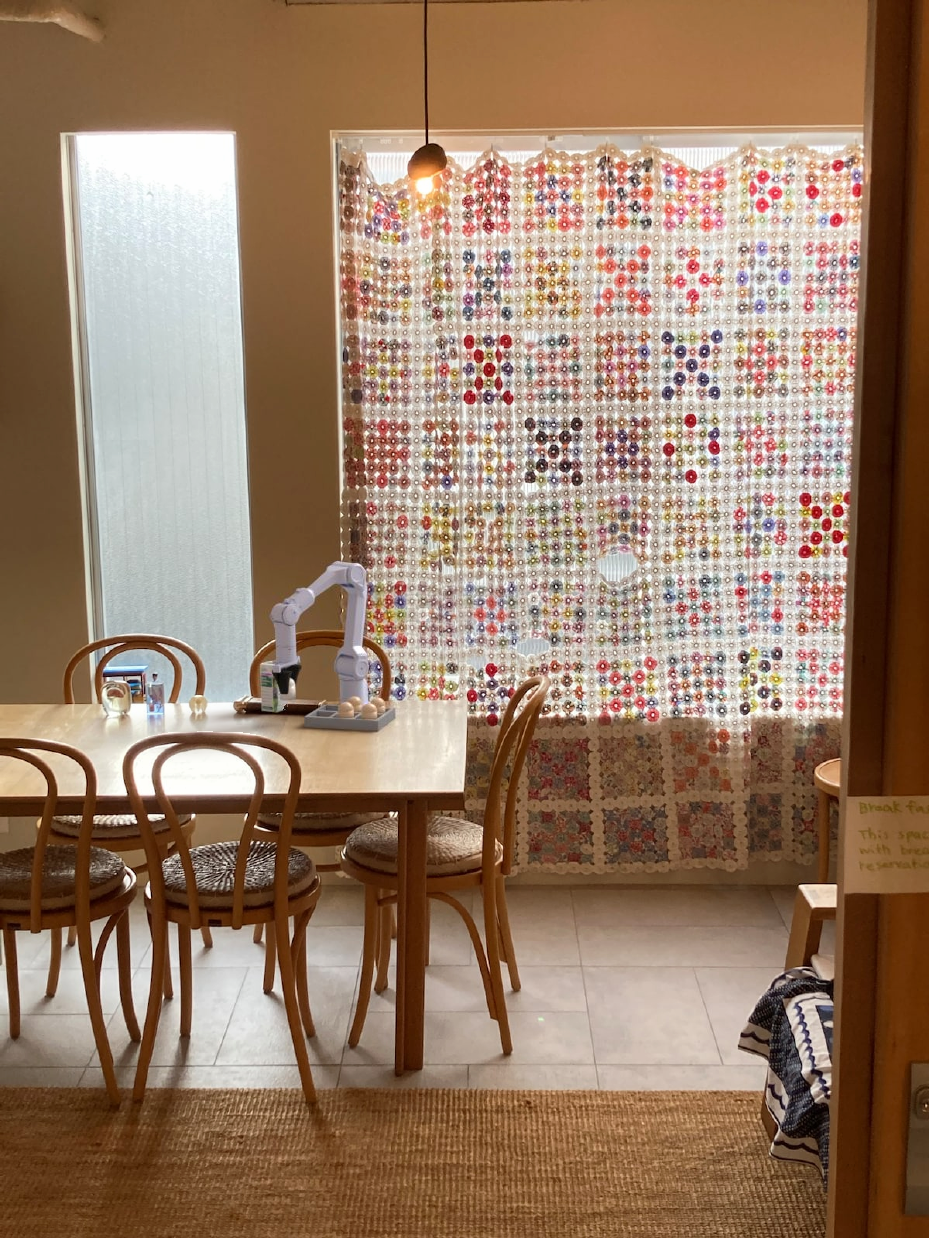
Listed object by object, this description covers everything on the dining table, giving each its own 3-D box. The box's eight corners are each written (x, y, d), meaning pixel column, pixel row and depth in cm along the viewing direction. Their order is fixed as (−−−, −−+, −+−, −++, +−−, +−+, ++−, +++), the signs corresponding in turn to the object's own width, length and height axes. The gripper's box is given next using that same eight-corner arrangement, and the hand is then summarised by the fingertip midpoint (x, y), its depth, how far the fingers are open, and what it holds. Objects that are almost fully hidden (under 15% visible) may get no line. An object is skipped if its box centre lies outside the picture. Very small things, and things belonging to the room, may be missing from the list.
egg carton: (324, 714, 341) (324, 691, 340) (395, 718, 336) (394, 695, 335) (304, 726, 327) (303, 703, 326) (378, 731, 321) (377, 707, 320)
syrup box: (261, 711, 347) (258, 663, 344) (273, 706, 352) (271, 659, 349) (276, 712, 344) (274, 665, 342) (288, 708, 349) (286, 661, 347)
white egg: (284, 696, 334) (283, 675, 333) (298, 697, 333) (297, 676, 332) (277, 700, 330) (276, 678, 329) (292, 700, 329) (291, 679, 328)
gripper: (283, 640, 337) (285, 685, 339) (261, 649, 323) (264, 697, 325) (305, 641, 335) (307, 686, 337) (285, 650, 321) (287, 698, 324)
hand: (287, 692), depth 331 cm, fingers closed on white egg, 4 cm apart
